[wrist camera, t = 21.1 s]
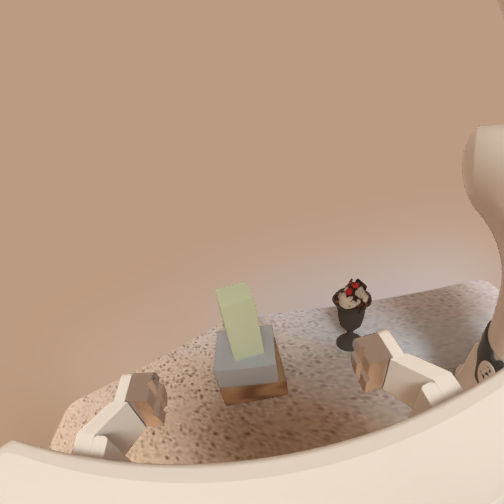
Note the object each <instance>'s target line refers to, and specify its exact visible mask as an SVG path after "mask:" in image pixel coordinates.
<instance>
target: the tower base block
mask: <svg viewBox="0 0 504 504" xmlns="http://www.w3.org/2000/svg"><path fill="white" fill-rule="evenodd" d="M274 342H275V351H276V360H277V369H278V379H279V382H273V383H265V384H256V385H246V386H235V387H223V388H220V391H221V394H222V396H223V399H224V401H225V404H226V405H233V404H240V403H246V402H252V401H257V400H263V399H268V398H273V397H278V396H283V395H287V394H288V391H287V383H286V377H285V374H284V370H283V366H282V363H281V359H280V355H279V352H278V348H277V344H276V341H275V337H274Z"/></svg>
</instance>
